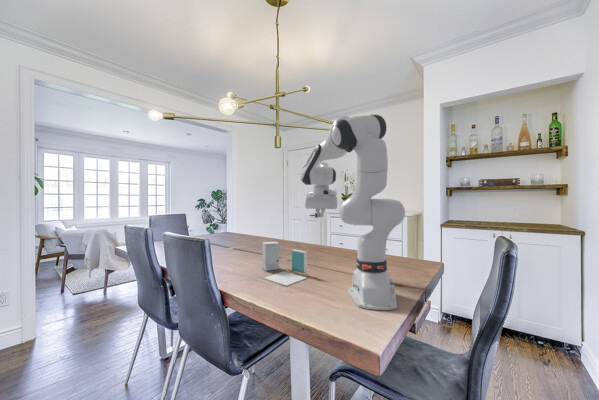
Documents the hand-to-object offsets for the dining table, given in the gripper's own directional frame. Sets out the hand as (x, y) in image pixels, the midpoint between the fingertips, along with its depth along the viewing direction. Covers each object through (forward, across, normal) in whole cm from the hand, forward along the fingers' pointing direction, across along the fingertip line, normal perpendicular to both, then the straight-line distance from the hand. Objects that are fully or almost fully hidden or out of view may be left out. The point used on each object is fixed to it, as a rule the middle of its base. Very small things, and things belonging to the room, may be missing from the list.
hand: (320, 217), depth 139 cm
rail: (+30, -3, -15) cm, 33 cm away
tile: (+30, -3, -13) cm, 32 cm away
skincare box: (+30, -21, -17) cm, 40 cm away
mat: (+30, -3, -23) cm, 38 cm away
